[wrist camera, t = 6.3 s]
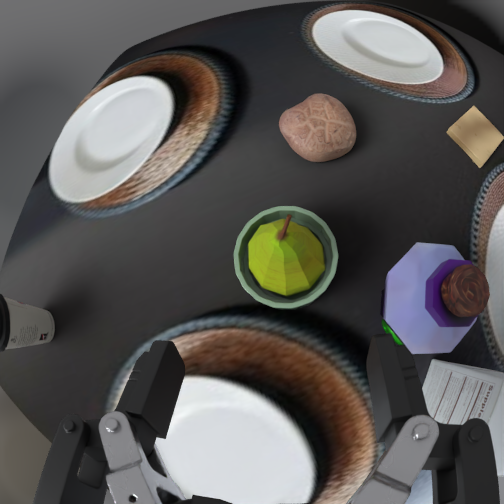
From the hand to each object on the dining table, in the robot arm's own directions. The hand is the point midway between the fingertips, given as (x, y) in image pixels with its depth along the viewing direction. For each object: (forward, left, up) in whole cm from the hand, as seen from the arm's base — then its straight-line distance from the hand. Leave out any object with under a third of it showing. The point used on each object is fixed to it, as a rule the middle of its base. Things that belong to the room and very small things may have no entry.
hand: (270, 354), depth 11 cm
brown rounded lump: (+14, -15, -15) cm, 26 cm away
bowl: (+5, -4, -15) cm, 16 cm away
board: (+2, -33, -15) cm, 37 cm away
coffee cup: (+18, +27, -15) cm, 36 cm away
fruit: (+5, -4, -15) cm, 16 cm away
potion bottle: (-5, -10, -15) cm, 19 cm away
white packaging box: (-16, -8, -15) cm, 24 cm away
